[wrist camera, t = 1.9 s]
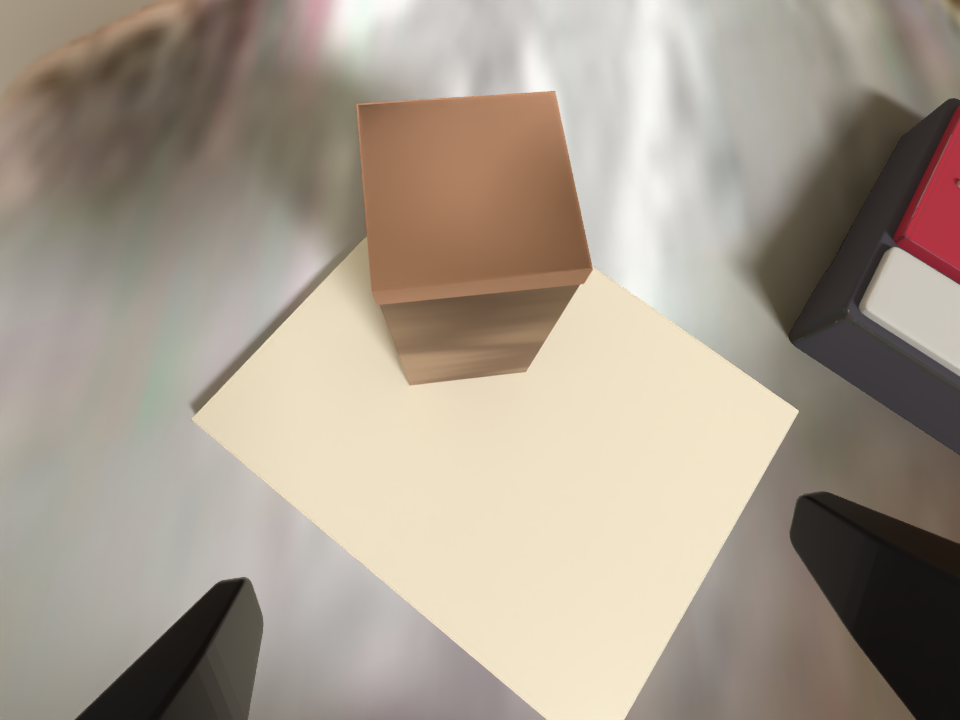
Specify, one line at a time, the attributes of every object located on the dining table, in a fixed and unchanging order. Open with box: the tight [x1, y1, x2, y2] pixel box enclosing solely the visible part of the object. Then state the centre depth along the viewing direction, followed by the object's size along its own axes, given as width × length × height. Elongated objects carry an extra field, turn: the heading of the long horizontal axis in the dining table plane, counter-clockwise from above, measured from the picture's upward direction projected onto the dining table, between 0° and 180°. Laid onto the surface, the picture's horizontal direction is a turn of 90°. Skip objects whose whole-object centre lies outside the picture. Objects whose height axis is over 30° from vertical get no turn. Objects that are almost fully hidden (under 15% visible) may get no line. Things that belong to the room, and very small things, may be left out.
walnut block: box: [356, 91, 593, 386], centre depth 17 cm, size 5×5×10 cm
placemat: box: [191, 236, 799, 720], centre depth 21 cm, size 20×16×1 cm
